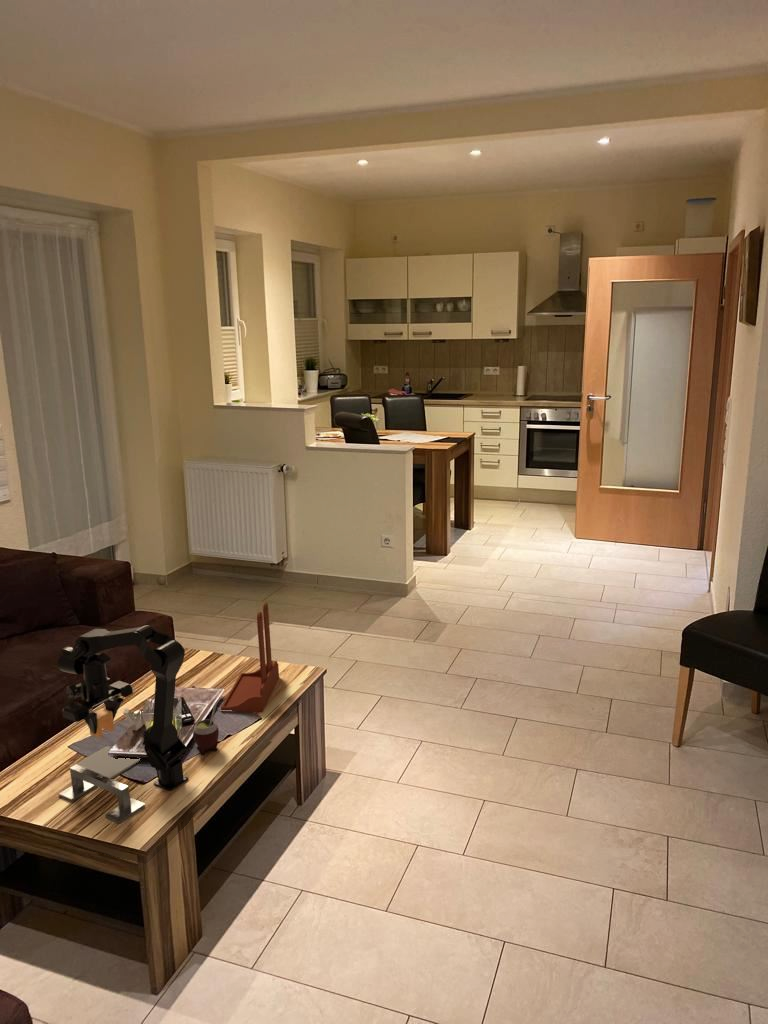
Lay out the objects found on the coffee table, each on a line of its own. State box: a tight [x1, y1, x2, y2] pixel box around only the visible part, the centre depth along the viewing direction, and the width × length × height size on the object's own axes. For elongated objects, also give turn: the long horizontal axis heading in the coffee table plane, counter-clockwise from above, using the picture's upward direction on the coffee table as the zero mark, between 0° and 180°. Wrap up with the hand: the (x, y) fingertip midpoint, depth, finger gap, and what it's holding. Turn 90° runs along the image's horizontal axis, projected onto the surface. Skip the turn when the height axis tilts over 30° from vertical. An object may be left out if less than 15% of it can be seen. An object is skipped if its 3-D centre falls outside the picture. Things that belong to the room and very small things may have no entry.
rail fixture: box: [58, 763, 146, 825], centre depth 195 cm, size 23×8×7 cm, turn 58°
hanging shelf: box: [220, 602, 280, 713], centre depth 248 cm, size 24×13×30 cm, turn 175°
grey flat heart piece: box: [122, 708, 141, 726], centre depth 230 cm, size 7×2×8 cm, turn 160°
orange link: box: [89, 707, 115, 739], centre depth 210 cm, size 4×5×6 cm
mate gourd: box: [192, 695, 223, 756], centre depth 217 cm, size 8×8×15 cm
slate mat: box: [71, 745, 141, 779], centre depth 212 cm, size 14×12×1 cm
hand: (102, 729), depth 210 cm, fingers closed on orange link, 5 cm apart
